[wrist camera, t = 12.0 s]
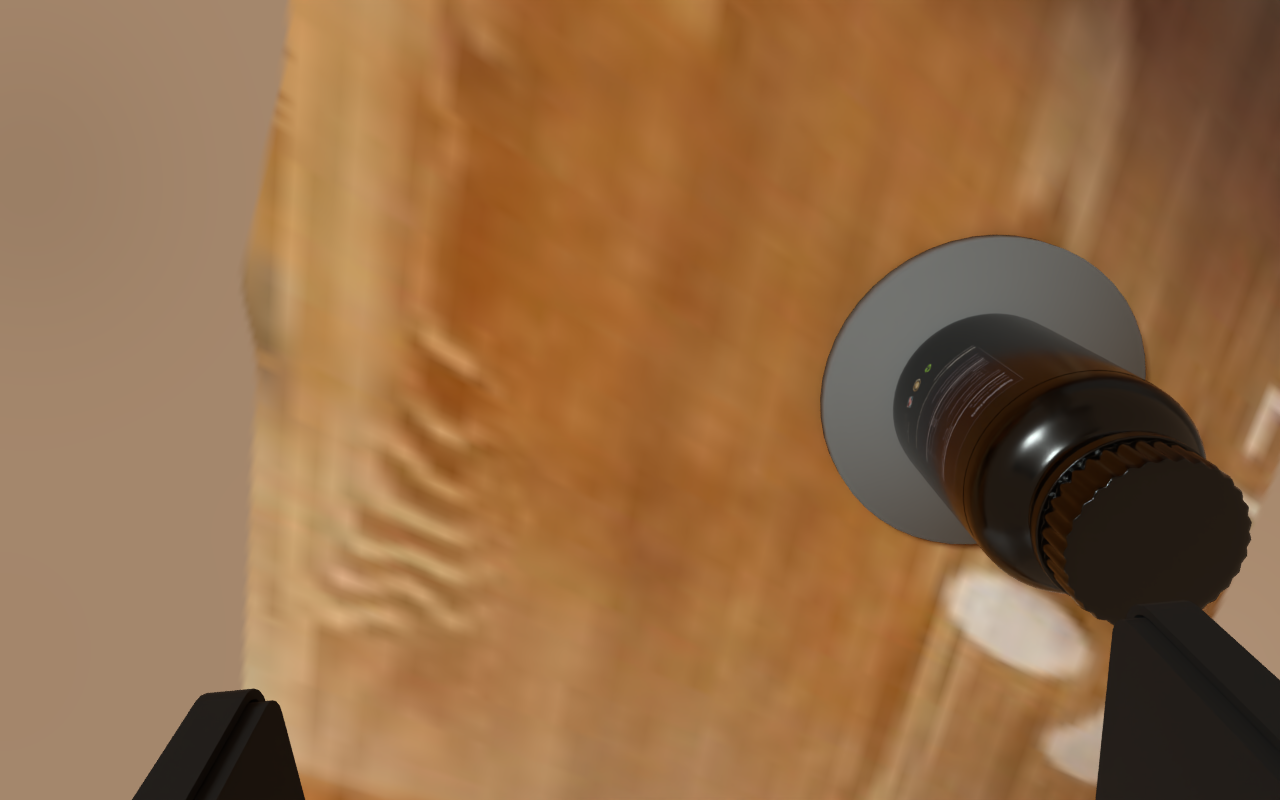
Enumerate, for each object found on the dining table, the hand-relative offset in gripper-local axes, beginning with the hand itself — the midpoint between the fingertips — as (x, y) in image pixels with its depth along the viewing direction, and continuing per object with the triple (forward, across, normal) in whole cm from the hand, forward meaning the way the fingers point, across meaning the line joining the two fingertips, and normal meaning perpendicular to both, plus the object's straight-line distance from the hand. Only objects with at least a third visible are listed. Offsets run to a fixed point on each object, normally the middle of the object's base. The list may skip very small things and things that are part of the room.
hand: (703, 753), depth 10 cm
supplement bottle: (+24, -12, +5) cm, 27 cm away
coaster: (+24, -13, +6) cm, 28 cm away
